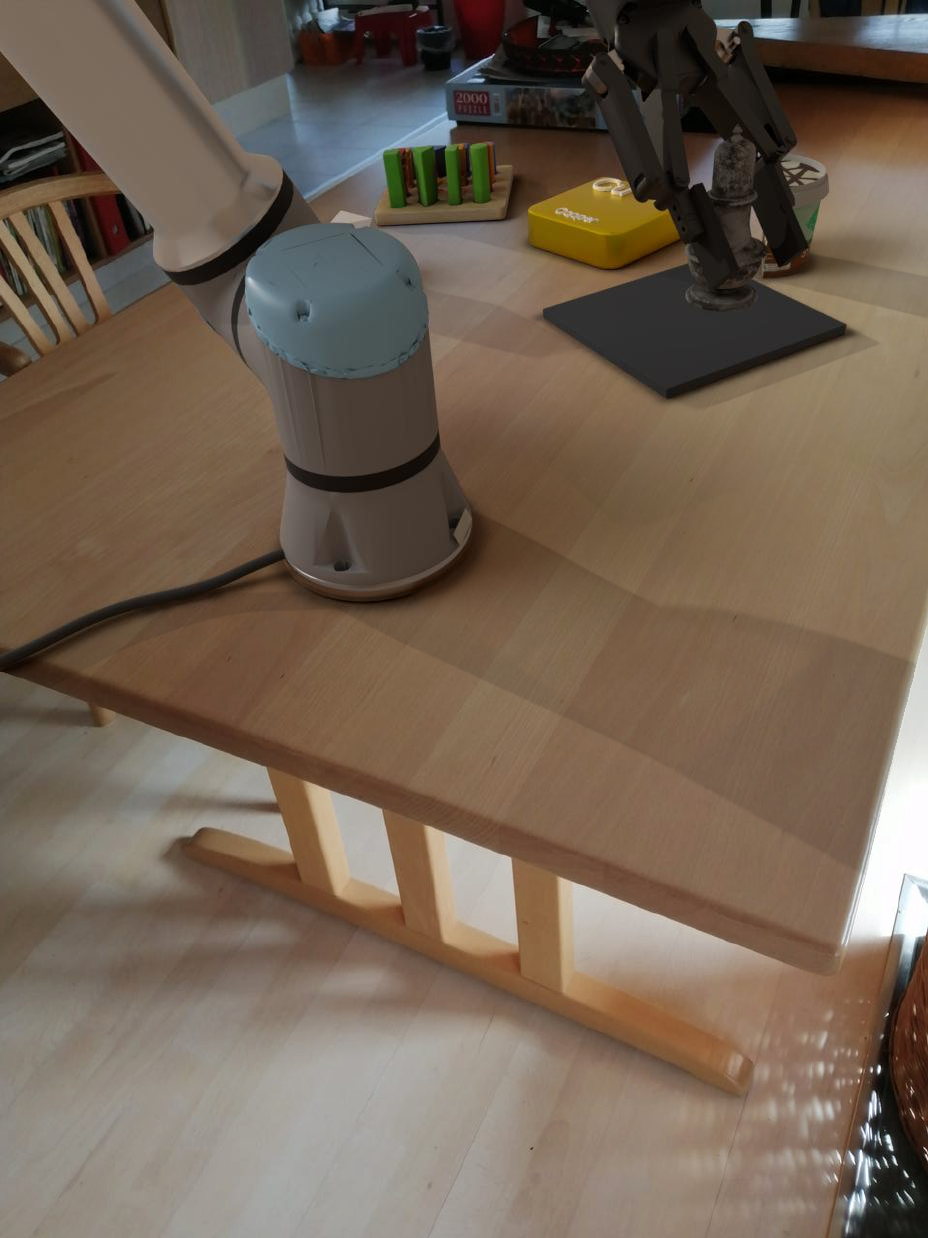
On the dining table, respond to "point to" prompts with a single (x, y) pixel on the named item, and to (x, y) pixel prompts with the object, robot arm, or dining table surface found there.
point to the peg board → (443, 185)
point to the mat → (687, 330)
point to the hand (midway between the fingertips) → (759, 267)
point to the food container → (800, 208)
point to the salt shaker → (731, 227)
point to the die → (354, 220)
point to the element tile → (600, 224)
